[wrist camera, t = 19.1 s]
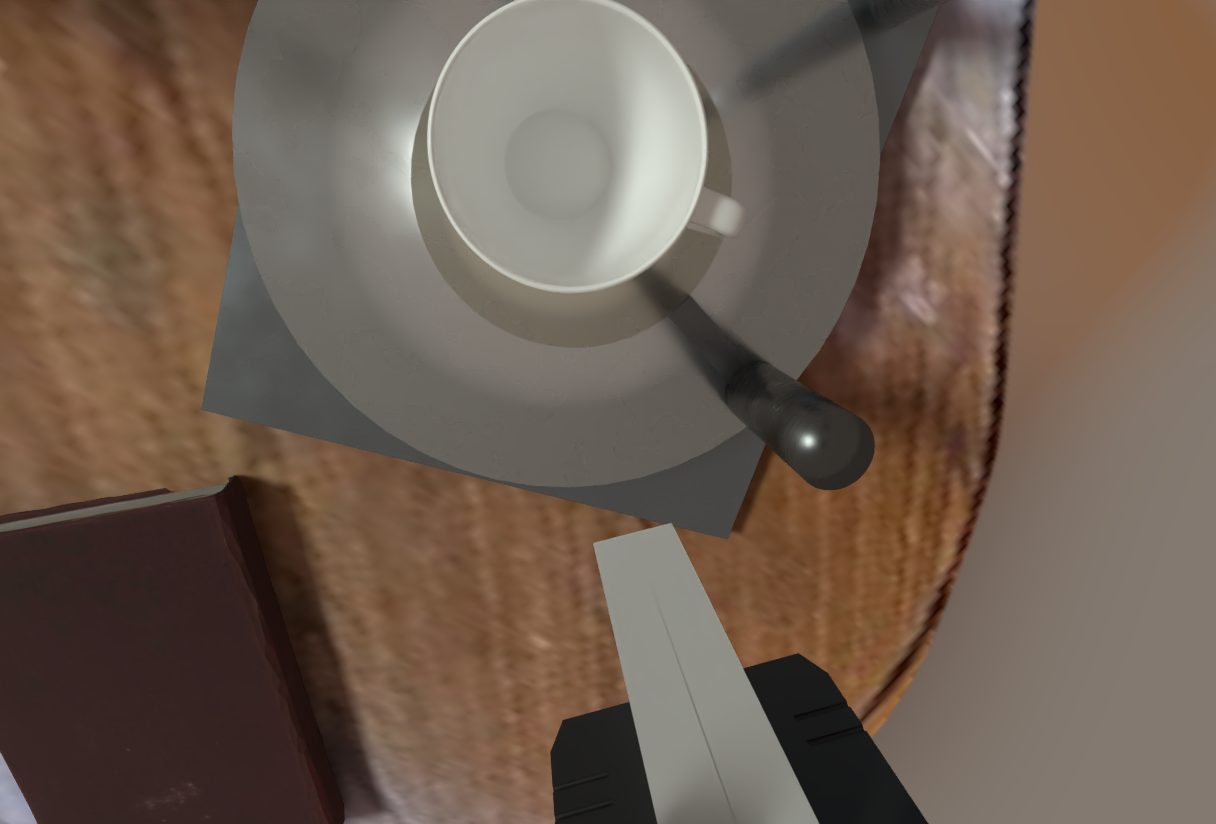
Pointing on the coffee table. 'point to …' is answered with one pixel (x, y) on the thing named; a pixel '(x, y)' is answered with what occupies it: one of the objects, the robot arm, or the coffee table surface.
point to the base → (310, 405)
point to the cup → (572, 145)
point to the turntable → (551, 321)
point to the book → (153, 668)
